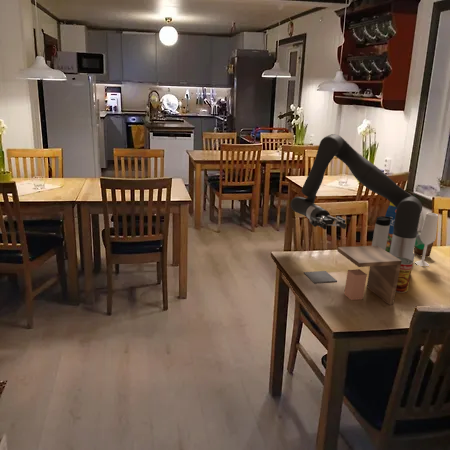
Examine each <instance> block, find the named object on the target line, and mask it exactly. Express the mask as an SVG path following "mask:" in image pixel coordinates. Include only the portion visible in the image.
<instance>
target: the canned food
mask: <svg viewBox="0 0 450 450" xmlns="http://www.w3.org/2000/svg"><path fill="white" fill-rule="evenodd" d="M396 258H398V259H399V260H401V266H400V271H399V277H398V282H397V287H396V293H401V292H402V293H407V292H408V290H409V284H410V281H411V275H412V271H413V270H412V269H413V266H412V265H414V261H412V260H410V259H408V258H404V257H396ZM411 270H412V271H411Z"/></svg>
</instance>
